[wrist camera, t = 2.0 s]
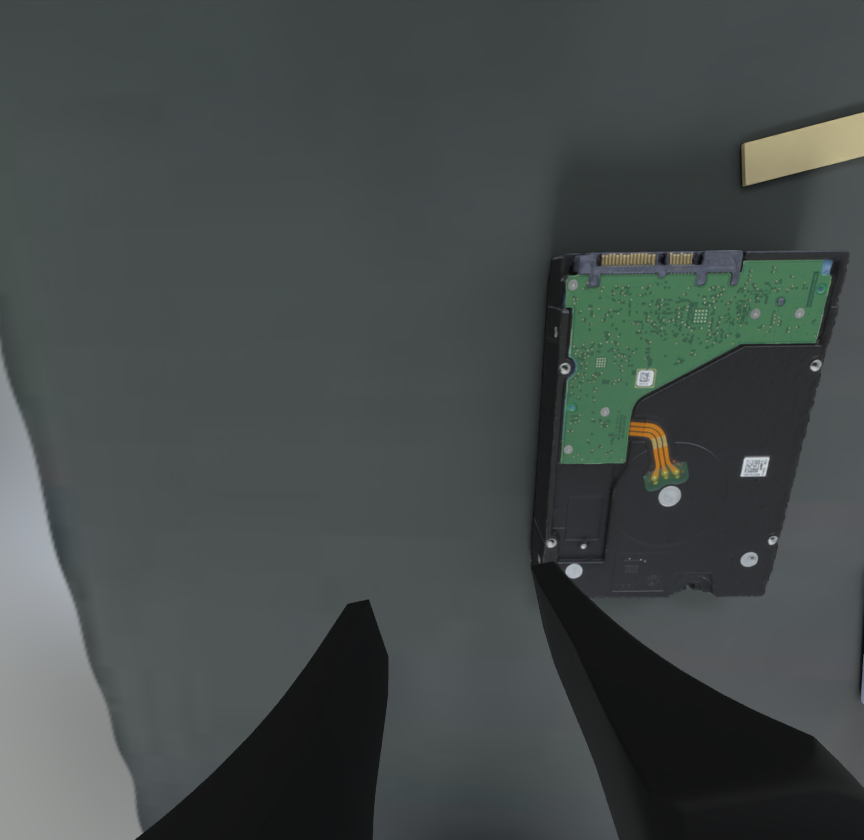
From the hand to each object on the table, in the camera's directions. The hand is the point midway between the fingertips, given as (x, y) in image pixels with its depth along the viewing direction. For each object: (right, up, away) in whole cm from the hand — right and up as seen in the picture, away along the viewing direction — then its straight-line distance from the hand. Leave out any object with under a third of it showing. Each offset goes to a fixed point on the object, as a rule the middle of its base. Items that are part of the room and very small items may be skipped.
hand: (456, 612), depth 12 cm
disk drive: (+9, +5, +9) cm, 14 cm away
